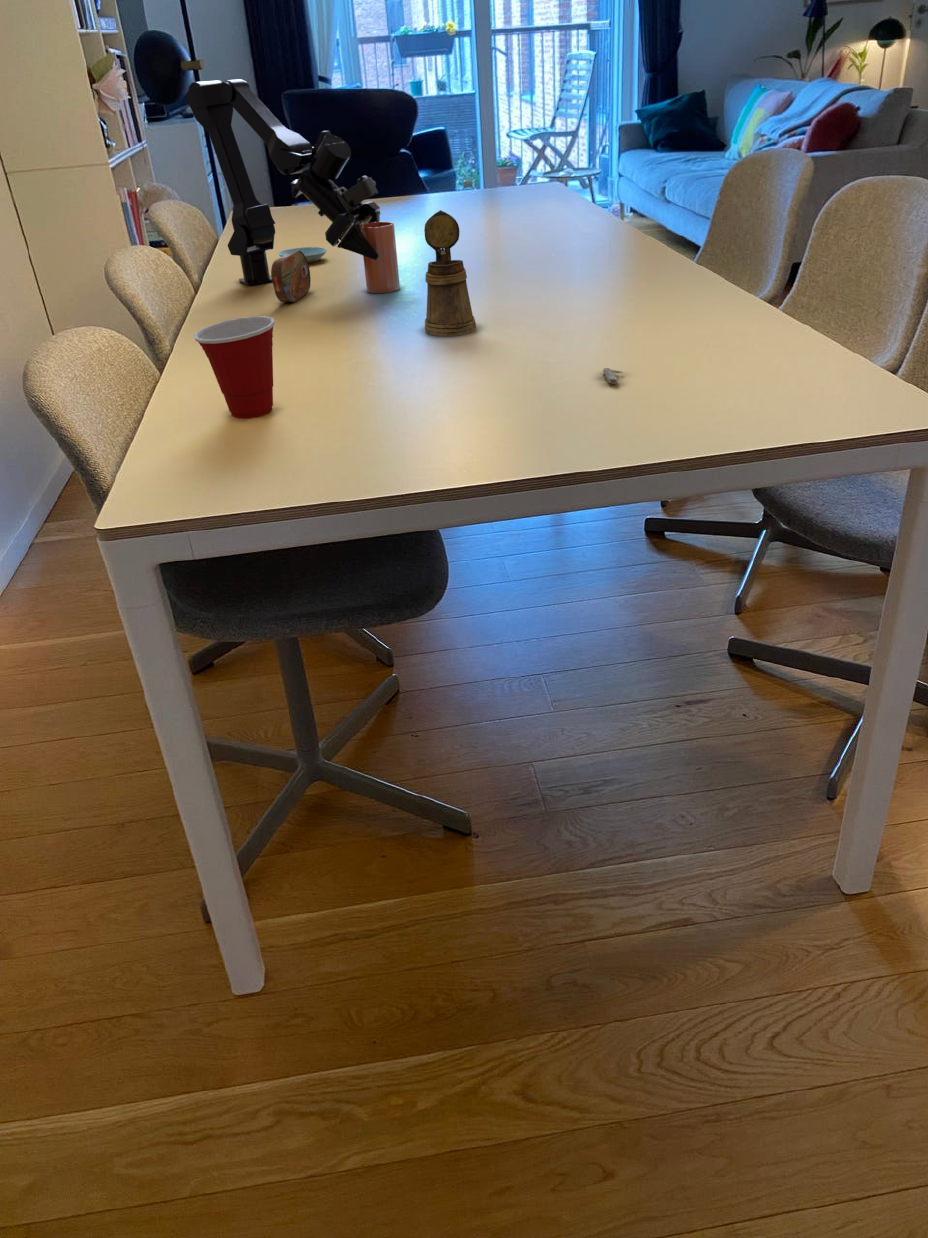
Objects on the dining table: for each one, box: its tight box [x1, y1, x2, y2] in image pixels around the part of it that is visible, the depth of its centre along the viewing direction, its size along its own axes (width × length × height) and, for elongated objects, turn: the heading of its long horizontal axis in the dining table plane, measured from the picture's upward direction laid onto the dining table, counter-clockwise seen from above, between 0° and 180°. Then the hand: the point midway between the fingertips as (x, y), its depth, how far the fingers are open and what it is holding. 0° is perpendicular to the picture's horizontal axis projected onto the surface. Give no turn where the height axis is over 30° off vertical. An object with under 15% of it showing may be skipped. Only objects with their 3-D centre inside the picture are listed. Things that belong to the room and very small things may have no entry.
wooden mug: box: [423, 209, 477, 337], centre depth 154 cm, size 9×14×18 cm, turn 4°
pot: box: [360, 221, 401, 294], centre depth 185 cm, size 7×7×12 cm
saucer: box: [277, 246, 328, 264], centre depth 219 cm, size 12×12×2 cm
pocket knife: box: [602, 367, 623, 384], centre depth 129 cm, size 6×1×3 cm
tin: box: [270, 251, 312, 303], centre depth 184 cm, size 15×3×8 cm, turn 168°
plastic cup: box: [193, 315, 275, 420], centre depth 123 cm, size 11×11×12 cm
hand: (384, 253), depth 184 cm, fingers open, 9 cm apart
